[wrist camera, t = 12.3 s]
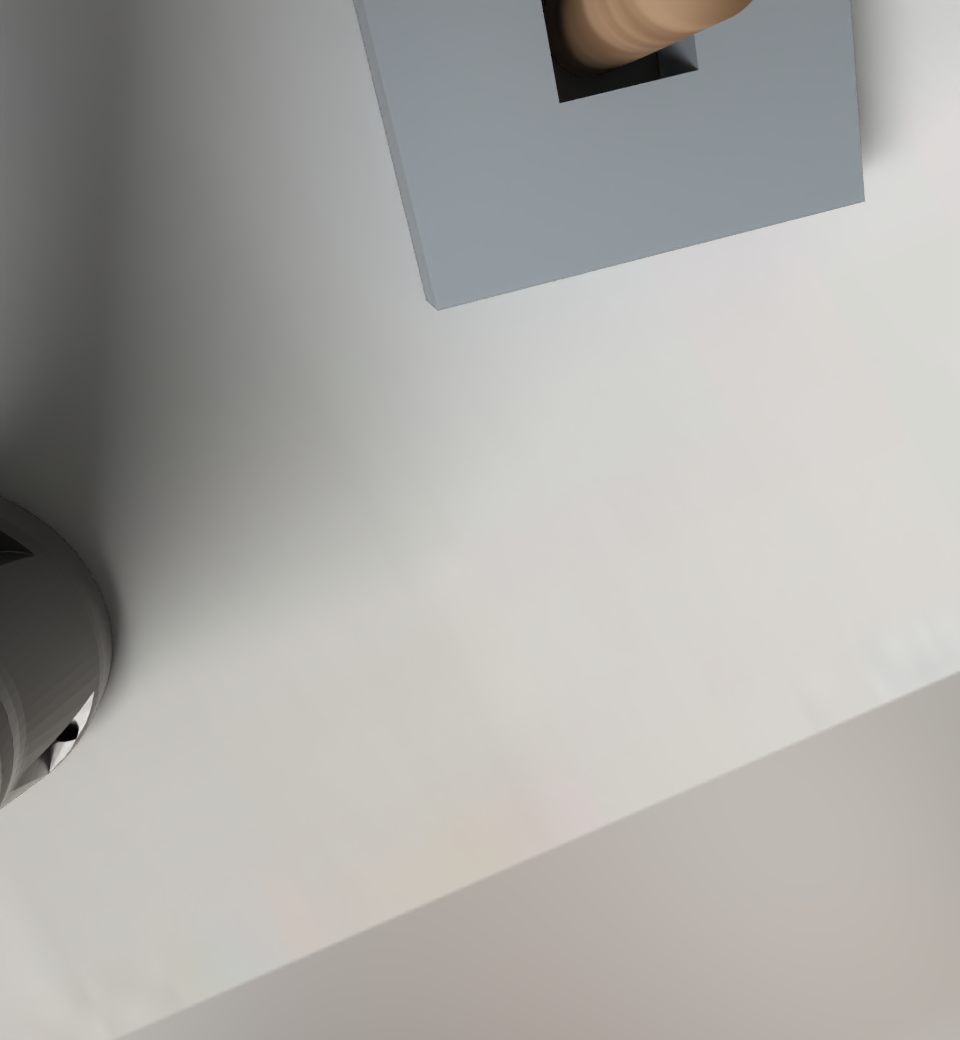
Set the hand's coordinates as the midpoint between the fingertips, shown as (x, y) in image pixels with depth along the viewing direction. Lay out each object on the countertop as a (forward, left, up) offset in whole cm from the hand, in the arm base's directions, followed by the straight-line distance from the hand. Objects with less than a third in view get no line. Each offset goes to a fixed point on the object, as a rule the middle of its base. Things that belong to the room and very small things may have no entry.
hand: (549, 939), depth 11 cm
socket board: (+12, +13, -32) cm, 36 cm away
